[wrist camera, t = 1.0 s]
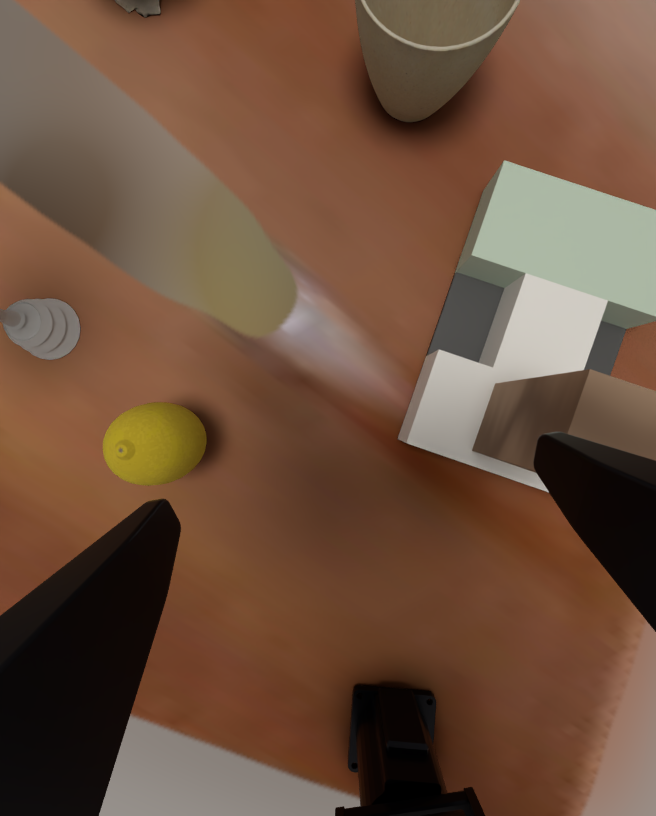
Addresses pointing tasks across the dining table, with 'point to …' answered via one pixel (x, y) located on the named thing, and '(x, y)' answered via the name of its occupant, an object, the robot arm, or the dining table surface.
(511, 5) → the flower pot
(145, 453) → the lemon
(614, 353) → the board
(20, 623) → the robot arm
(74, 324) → the chalice
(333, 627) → the dining table surface
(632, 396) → the walnut block
